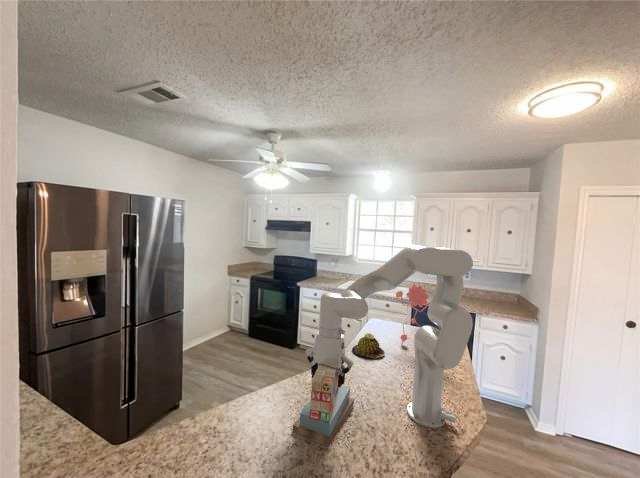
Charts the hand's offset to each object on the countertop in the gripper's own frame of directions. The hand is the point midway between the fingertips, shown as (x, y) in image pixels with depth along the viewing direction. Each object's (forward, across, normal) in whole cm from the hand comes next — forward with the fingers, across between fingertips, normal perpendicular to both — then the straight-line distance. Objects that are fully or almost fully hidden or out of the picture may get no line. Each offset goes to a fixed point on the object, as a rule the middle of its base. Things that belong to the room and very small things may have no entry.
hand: (327, 380), depth 89 cm
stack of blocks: (+7, 0, 0) cm, 7 cm away
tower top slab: (+11, 0, 0) cm, 11 cm away
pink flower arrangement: (+14, -19, -80) cm, 83 cm away
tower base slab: (+15, 0, 0) cm, 15 cm away
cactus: (+14, +2, -57) cm, 59 cm away
